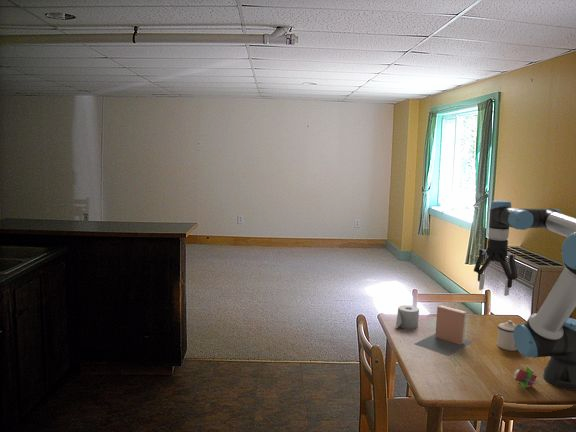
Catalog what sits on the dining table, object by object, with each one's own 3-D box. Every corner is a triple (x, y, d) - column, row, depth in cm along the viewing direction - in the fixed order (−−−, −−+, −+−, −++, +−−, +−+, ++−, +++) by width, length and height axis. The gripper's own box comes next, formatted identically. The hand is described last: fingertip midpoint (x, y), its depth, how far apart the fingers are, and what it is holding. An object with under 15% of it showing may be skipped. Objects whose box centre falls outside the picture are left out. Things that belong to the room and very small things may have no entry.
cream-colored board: (438, 335, 223) (440, 305, 222) (464, 343, 215) (466, 311, 213) (435, 336, 221) (437, 306, 219) (460, 344, 213) (463, 313, 211)
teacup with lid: (519, 352, 207) (521, 326, 205) (495, 348, 211) (497, 322, 209) (519, 343, 218) (521, 317, 216) (497, 339, 222) (499, 314, 220)
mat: (439, 332, 228) (439, 331, 228) (473, 342, 217) (473, 341, 217) (413, 344, 213) (413, 343, 213) (448, 356, 201) (448, 355, 201)
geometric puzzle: (535, 376, 181) (523, 359, 180) (545, 385, 174) (533, 367, 173) (518, 387, 181) (507, 370, 180) (528, 396, 174) (516, 379, 173)
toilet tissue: (393, 329, 230) (394, 311, 229) (400, 321, 242) (401, 304, 241) (412, 333, 226) (413, 315, 225) (419, 324, 238) (420, 307, 236)
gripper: (530, 241, 196) (525, 296, 199) (475, 233, 211) (471, 284, 214) (523, 243, 190) (518, 300, 193) (467, 235, 206) (463, 287, 209)
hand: (493, 292), depth 204 cm, fingers open, 10 cm apart
